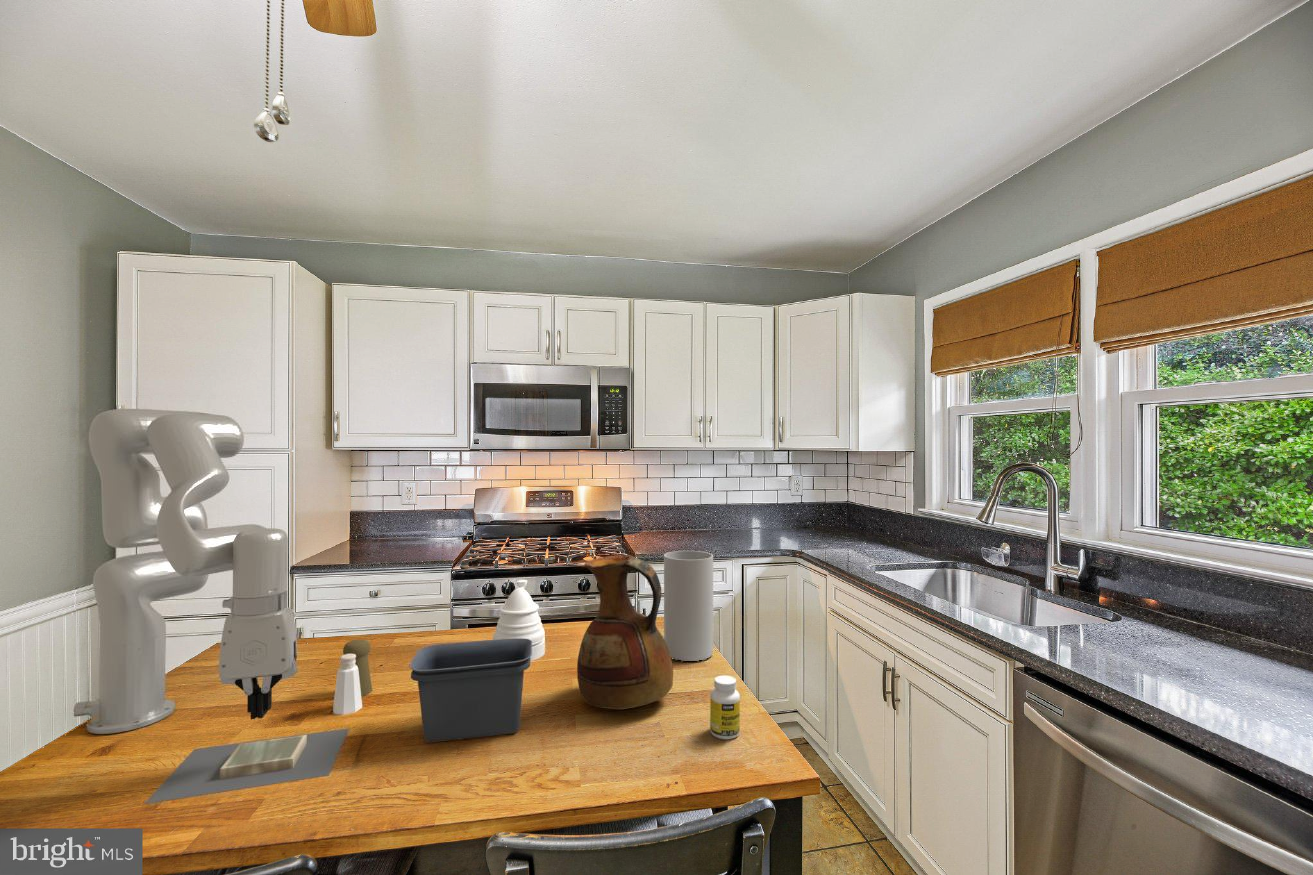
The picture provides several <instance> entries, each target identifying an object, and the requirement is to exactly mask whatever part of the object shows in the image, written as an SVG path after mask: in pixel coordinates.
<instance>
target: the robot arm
mask: <svg viewBox="0 0 1313 875" xmlns="http://www.w3.org/2000/svg"><path fill="white" fill-rule="evenodd" d="M89 426H90V428H89V432H88V443H89V444H88V445H89V449H90V454H91V456H92V459H93V462H94V463H95V466H96V467H97V468H96V469H97V470H98V473H99V476H100V484H101V486H100V487H101V490H100V491H101V520H102V521H101V523H102V533H103V538H104V541H105V542H106V544H107V545H108V546H110V547H112V548H116V549H131V548H132V549H133V548H142V547H149V546H157V545H160V547H161V549H162V550H161V551H151V552H150V551H149V552H144V553H143V552H142V553H137V554H130V555H124V556H120V557H116V558H112V559H111V560H108V561H106V562H104V563H103V564H101V565H100V566H99V567H98V568H97V569H96V571H95V572H94V574H93V577H92V578H93V580H92V585H93V593H94V596H95V600H96V605H97V611H98V622H99V625H98V626H99V636H98V637H99V648H98V649H99V650H98V651H99V656H98V657H99V658H98V659H99V661H98V663H99V664H98V668H99V669H98V698H97V699H96V700H92V701H90V700H87V701H78V702H76V703H75V704H74V707H73V717H83V716H89V717H90V719H89V720H88V721H90V720H92V719H94V718H95V717H97V718H96V719H94V720H92V721H91V722H89V723H88V722H87V723H88V724H87V723H86V731H87V732H89V733H91V734H95V735H108V734H117V733H124V732H127V731H132V730H136V729H140V728H144V727H146V726H149V725H152V724H155V723H157V722H160V721H162V720H164V719H165V718H167V717H169V716H170V715H171V714H172V713H173V712H174V711H175V710H176V702H175V701H174V700H171V699H169V698H168V699H167V698H166V661H167V660H166V649H167V648H166V646H167V645H166V644H167V639H166V638H167V631H166V630H167V629H166V628H167V625H166V621H165V619H164V616H163V615H162V614H161V613H159V611H157V610H156V609H155V608H154V607H153V606H152V604H151V603H153V602H157V601H161V600H164V599H169V598H174V597H178V596H182V595H183V596H184V595H187V594H192V593H194V592H198V591H200V590H201V589H202V588H204V586H205V585H206V583H207V581H208V579H209V575H212V574H218V573H224V572H229V571H232V596H231V597H230V598H228V599H223V600H222V604H221V605H222V606H221V607H222V608H223V609H229V610H230V613H231V614H229V615H227V616H226V617H225V621H224V624H223V628H222V634H221V640H220V647H219V648H220V649H219V659H218V676H219V677H220V683H221V684H223V685H231V686H233V685H235V686H237V688H239V689H241V691H243V694H244V695H246V697H247V704H246V705H247V706H246V707H247V708H246V710H247V713H250V715H249V716H250V720H255V719H257V718H258V719H263V718H264V716H265V715H266V714H267V713H268V711H270V710H271V708H272V705H273V704H272V700H273V699H272V698H273V697H272V692H273V691H272V690H273V688H274V687H275V686H276V684H278V683H279V682H280V681H281V680H285V679H288V678H292V677H294V676H295V675H297V673H298V666H297V660H298V642H297V641H298V640H297V639H298V638H297V629H296V624H295V622H296V621H295V617H294V614H293V610H292V608H291V607H288V567H289V566H288V565H289V564H288V560H289V558H288V553H289V549H288V548H289V537H288V534H287V532H286V531H285V530H283V529H280V528H273V527H272V528H268V527H265V526H262V525H260V524H256V523H255V524H252V523H251V524H240V525H230V526H221V527H211V528H209V526H208V525H209V524H208V517H207V511H206V509H205V507H204V506H203V504H202V503H203V502H204V501H207V500H209V499H211V498H212V497H214V496H216V495H218V494H219V493H220V492H222V491H224V489H225V488H226V487H227V485H228V484H229V481H230V475H229V474H230V473H229V471H228V470H227V468H226V466H225V464H224V462H223V460H222V459H229V458H233V457H235V456H237V455H238V454H239V453H240V452H241V451H242V450H243V446H244V444H245V438H244V431H243V430H242V427H241V426H240V424H239V423H238V422H237V421H236V420H235V419H234V418H232V417H230V416H229V415H225V414H224V415H222V414H213V413H205V412H198V411H189V410H187V411H185V410H184V411H183V410H168V409H167V410H166V409H164V410H162V409H152V408H151V409H150V408H149V409H147V408H118V409H115V408H114V409H110V410H106V411H103V412H100V413H98V414H97V415H96V416H95V417H94V418H93V419H92V421H91V424H90V425H89ZM145 453H146V454H152V453H153V455H154V457H155V460H156V462H157V464H158V466H159V469H160V470H161V472H162V474H163V476H164V479H165V480H166V483H167V485H168V487H169V488H170V492H169V493H168V495H167V496H162V494H161V479H160V477H161V476H160V474H159V472H158V470H157V469H156V467H155V466H154V465H153V464H152V463H151V461H149V459H148V458H146V457H145V456H144V455H142V454H145ZM259 678H262V682H261V683H262V684H261V686H260V685H259ZM101 714H102V715H101ZM99 715H101V716H99ZM98 716H99V717H98Z"/></svg>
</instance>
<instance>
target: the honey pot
mask: <svg viewBox="0 0 1313 875" xmlns="http://www.w3.org/2000/svg"><path fill="white" fill-rule="evenodd" d="M516 582H517V586H518V587H517V588H515V589H514V590H513V591H512V592H511V593H510V595H509V596H508V597H507V599H506V601H505V603H504V604H503V605H500V607H498V612H499V614H500V616H499V618H498V620H497V625H496V627H495V631H494V632H493V639H492V640H497V639H511V638H524V639H529V640H531V641H532V655H531V659H530V662H533V661H536V660H538V659H540V658H541V657H544V655H545V654H546V653H545V652H546V639H545V635H546V632H545V629H544V626H543V623H542V620H541V617H540V615H539V613H538V612H539V609H540V607H539V604H538V603H536V602H534V600H533V599H532V596H531V594H530V593H529V592H528V591H527V590H526V589H525V588H526V587H527V585H528V580H527V579H519V580H516Z"/></svg>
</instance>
